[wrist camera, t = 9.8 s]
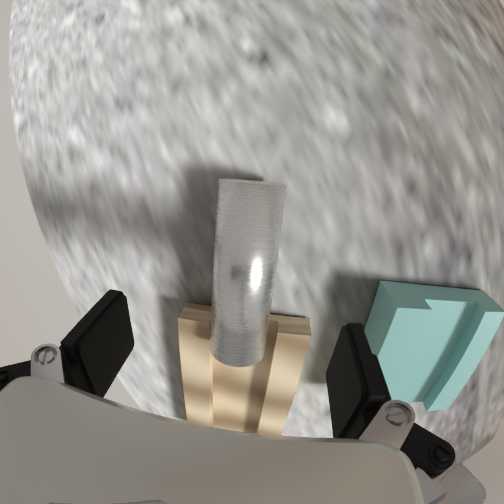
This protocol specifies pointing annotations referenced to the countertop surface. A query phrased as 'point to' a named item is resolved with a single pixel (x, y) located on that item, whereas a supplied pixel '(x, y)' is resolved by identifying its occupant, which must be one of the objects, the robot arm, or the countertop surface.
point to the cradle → (429, 339)
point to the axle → (244, 268)
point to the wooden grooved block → (241, 375)
